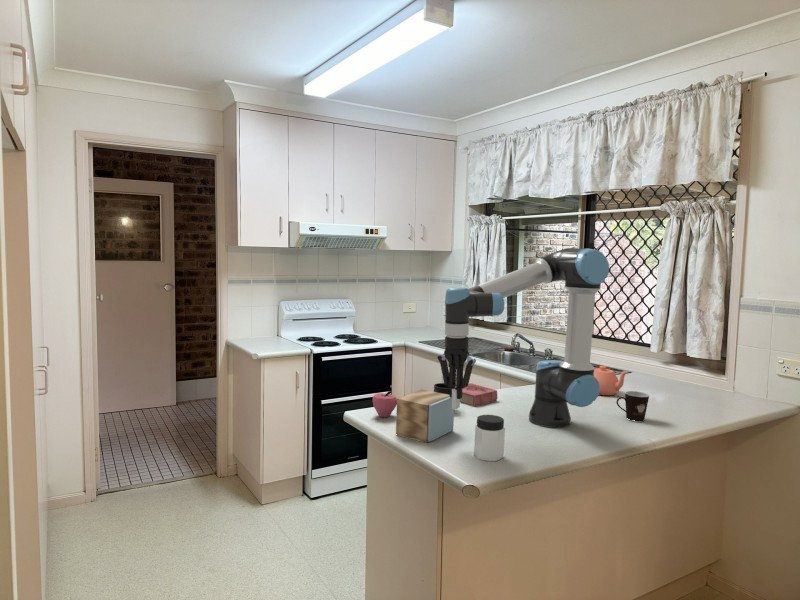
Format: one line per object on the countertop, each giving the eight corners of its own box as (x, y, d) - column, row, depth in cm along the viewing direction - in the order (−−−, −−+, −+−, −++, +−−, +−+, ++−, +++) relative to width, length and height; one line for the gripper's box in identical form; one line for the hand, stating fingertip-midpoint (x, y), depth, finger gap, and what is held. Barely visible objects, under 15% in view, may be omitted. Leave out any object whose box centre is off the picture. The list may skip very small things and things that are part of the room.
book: (475, 408, 225) (475, 396, 225) (447, 399, 237) (448, 387, 236) (497, 402, 235) (498, 390, 234) (470, 394, 246) (470, 383, 246)
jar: (484, 449, 178) (486, 412, 177) (507, 456, 173) (509, 418, 172) (469, 456, 172) (471, 418, 170) (492, 463, 166) (494, 424, 165)
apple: (385, 411, 215) (386, 386, 214) (401, 417, 209) (402, 390, 208) (367, 416, 209) (367, 390, 208) (382, 422, 202) (383, 394, 201)
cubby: (449, 430, 196) (451, 395, 195) (426, 442, 183) (427, 405, 181) (420, 423, 202) (422, 389, 201) (395, 434, 189) (397, 398, 188)
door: (453, 430, 195) (455, 395, 194) (430, 442, 182) (431, 405, 181) (451, 429, 195) (452, 394, 194) (427, 441, 183) (428, 404, 182)
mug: (445, 416, 212) (446, 391, 211) (429, 407, 223) (430, 384, 222) (463, 413, 216) (464, 389, 215) (446, 405, 227) (447, 382, 226)
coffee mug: (646, 417, 218) (648, 392, 218) (648, 424, 210) (650, 398, 209) (614, 413, 222) (616, 389, 221) (615, 420, 214) (617, 394, 213)
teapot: (634, 395, 252) (636, 368, 251) (618, 401, 242) (620, 373, 241) (588, 385, 268) (590, 360, 267) (572, 390, 258) (574, 364, 257)
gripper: (480, 336, 178) (479, 408, 181) (444, 332, 185) (443, 401, 188) (469, 339, 172) (468, 414, 174) (433, 335, 179) (432, 407, 181)
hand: (455, 407), depth 181 cm, fingers closed
